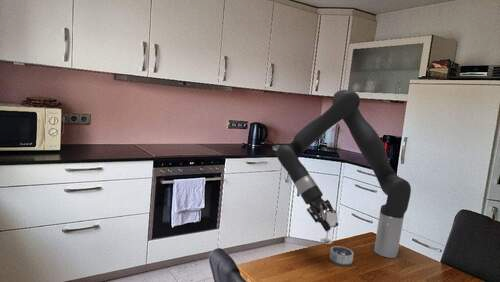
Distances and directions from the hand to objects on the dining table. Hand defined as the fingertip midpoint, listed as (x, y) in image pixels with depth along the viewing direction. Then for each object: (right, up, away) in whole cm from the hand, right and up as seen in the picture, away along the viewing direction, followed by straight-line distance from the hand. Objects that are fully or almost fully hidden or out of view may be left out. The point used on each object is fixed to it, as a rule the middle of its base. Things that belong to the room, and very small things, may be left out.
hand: (332, 228), depth 126 cm
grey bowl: (+5, -15, +7) cm, 17 cm away
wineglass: (-2, -6, +2) cm, 6 cm away
